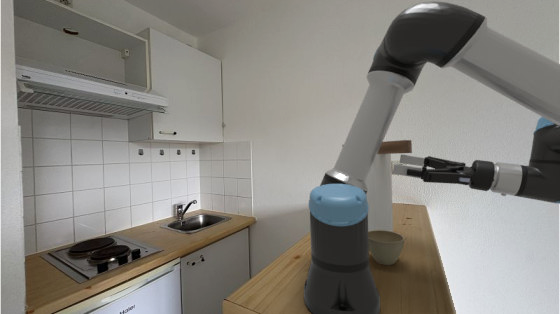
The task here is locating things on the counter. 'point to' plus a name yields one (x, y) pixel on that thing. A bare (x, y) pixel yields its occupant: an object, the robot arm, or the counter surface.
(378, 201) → the riser
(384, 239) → the flower pot
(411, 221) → the counter surface
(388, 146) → the batten
